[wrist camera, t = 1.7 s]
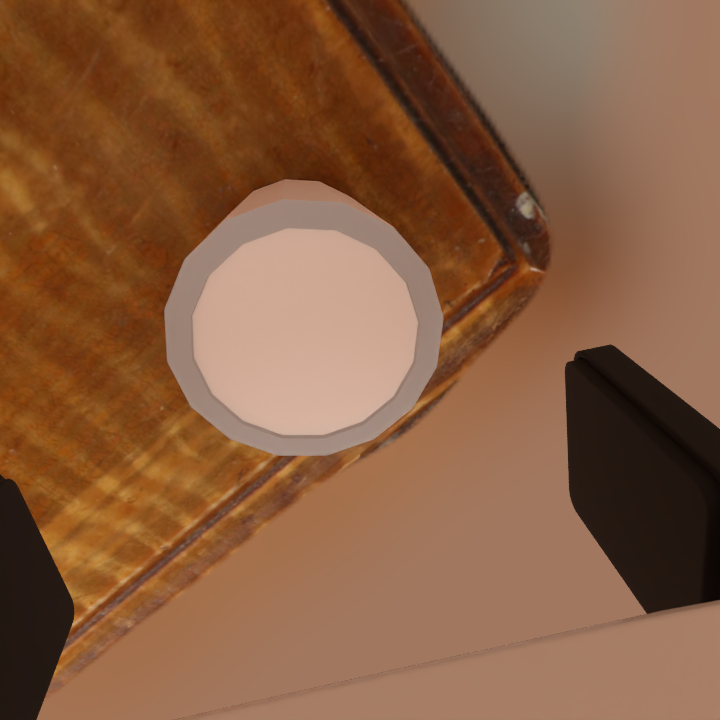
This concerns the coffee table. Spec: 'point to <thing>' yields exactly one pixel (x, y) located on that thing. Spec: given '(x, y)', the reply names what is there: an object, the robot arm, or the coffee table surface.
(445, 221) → the coffee table surface
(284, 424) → the shot glass
